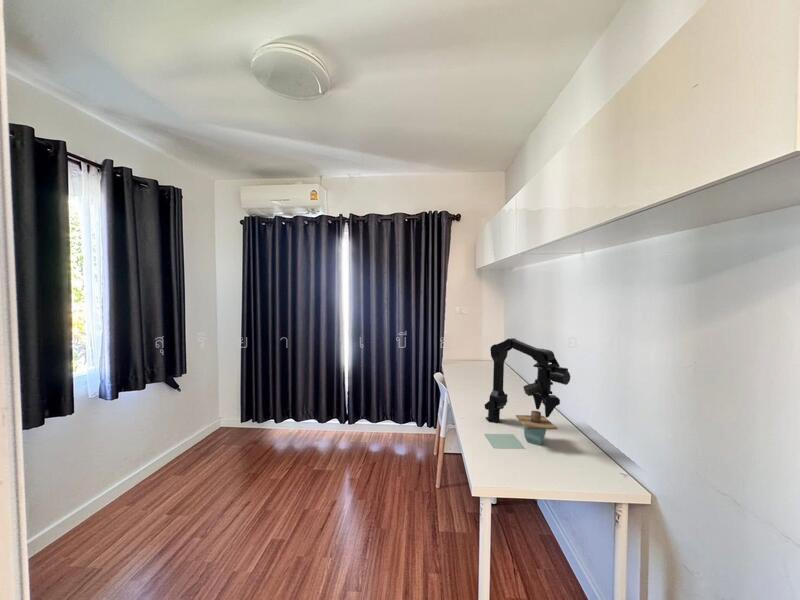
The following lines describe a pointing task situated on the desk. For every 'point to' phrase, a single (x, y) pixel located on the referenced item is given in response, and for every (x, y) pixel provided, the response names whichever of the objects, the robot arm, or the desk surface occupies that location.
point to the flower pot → (534, 435)
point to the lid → (535, 421)
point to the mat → (504, 441)
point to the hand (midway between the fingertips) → (542, 413)
